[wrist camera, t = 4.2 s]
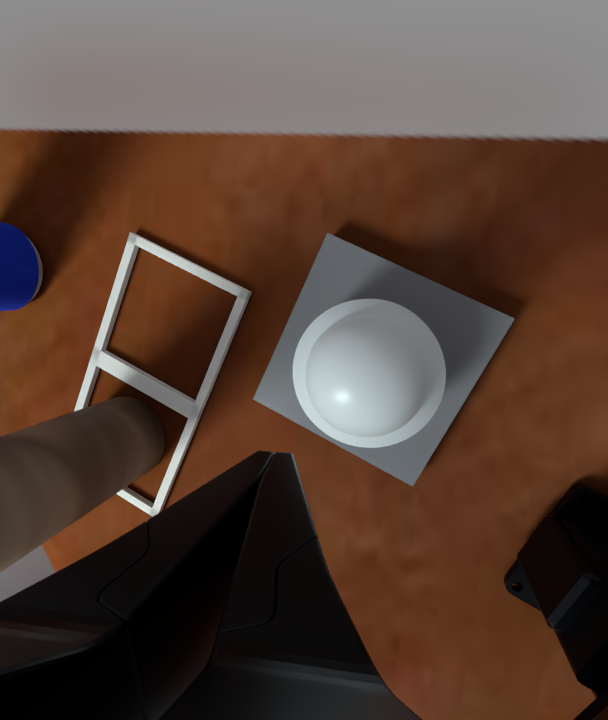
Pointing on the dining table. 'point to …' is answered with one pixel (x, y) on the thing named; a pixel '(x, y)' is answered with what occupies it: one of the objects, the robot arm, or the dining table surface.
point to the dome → (369, 373)
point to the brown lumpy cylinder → (71, 469)
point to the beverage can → (18, 268)
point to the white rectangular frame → (145, 380)
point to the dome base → (421, 296)
